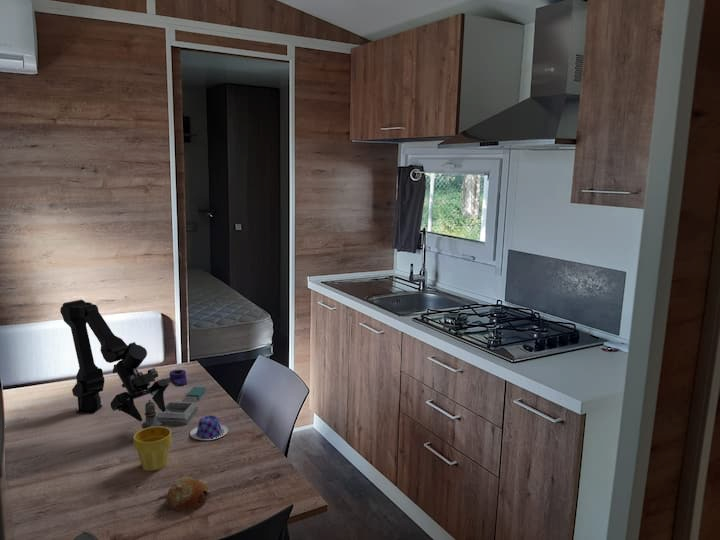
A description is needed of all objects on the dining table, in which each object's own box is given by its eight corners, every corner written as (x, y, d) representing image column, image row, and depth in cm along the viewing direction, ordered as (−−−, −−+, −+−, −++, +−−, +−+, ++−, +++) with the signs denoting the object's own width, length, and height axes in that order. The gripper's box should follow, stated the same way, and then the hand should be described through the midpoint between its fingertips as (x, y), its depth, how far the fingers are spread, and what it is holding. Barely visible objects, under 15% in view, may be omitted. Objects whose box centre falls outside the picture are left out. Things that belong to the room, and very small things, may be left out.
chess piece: (154, 439, 185) (153, 404, 183) (138, 437, 186) (136, 402, 184) (164, 431, 191) (162, 397, 188) (148, 430, 192) (146, 395, 190)
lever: (168, 378, 239) (167, 371, 239) (183, 375, 243) (183, 368, 242) (175, 387, 229) (174, 380, 229) (191, 385, 232) (190, 377, 232)
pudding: (182, 439, 186) (182, 424, 185) (202, 424, 197) (201, 409, 196) (217, 444, 183) (216, 428, 182) (234, 428, 194) (234, 413, 193)
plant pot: (137, 477, 162) (135, 445, 160) (133, 461, 171) (131, 430, 169) (176, 469, 167) (174, 437, 165) (169, 453, 176) (168, 423, 174)
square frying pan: (154, 423, 197) (154, 413, 196) (186, 391, 225) (185, 382, 225) (186, 424, 196) (186, 414, 195) (213, 392, 225) (213, 383, 224)
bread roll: (180, 503, 157) (165, 479, 155) (214, 487, 157) (200, 462, 155) (171, 525, 147) (156, 499, 145) (208, 508, 147) (193, 482, 145)
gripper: (113, 370, 179) (137, 413, 175) (164, 355, 194) (187, 393, 190) (100, 389, 184) (123, 431, 180) (150, 373, 200) (173, 411, 196)
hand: (153, 416), depth 186 cm, fingers open, 8 cm apart
